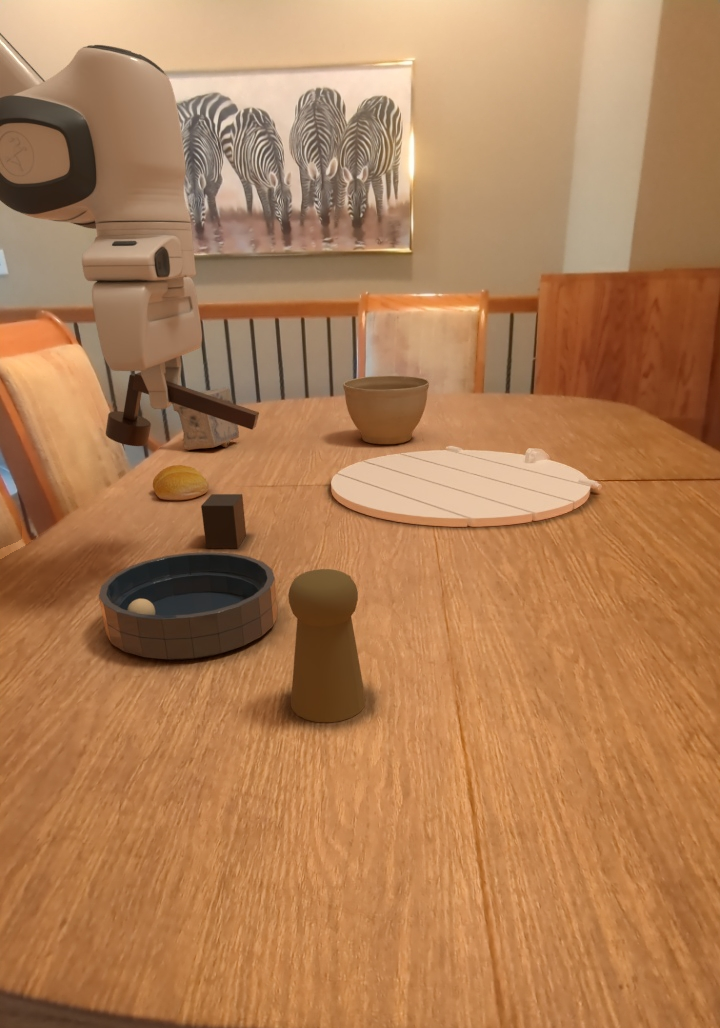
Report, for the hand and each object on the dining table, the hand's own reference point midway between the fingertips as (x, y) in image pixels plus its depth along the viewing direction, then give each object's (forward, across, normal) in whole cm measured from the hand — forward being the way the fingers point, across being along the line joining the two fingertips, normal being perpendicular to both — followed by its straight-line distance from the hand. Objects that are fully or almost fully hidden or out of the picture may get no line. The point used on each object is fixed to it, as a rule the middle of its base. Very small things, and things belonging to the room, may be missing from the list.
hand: (166, 405), depth 79 cm
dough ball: (+17, +16, 0) cm, 23 cm away
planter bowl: (+18, -69, +19) cm, 74 cm away
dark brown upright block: (+18, -10, +2) cm, 21 cm away
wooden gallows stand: (+5, 0, 0) cm, 5 cm away
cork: (+18, +28, +20) cm, 39 cm away
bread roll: (+19, -32, -10) cm, 38 cm away
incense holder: (+19, -64, -15) cm, 68 cm away
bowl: (+18, +14, +5) cm, 24 cm away
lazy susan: (+18, -36, +33) cm, 52 cm away
